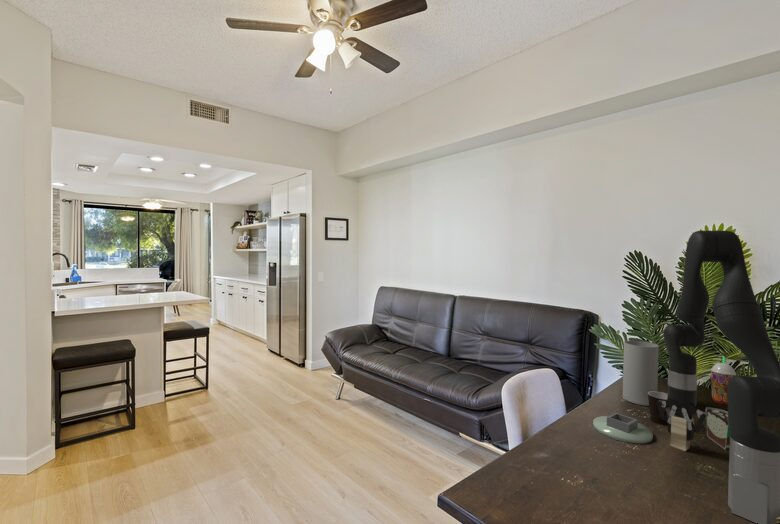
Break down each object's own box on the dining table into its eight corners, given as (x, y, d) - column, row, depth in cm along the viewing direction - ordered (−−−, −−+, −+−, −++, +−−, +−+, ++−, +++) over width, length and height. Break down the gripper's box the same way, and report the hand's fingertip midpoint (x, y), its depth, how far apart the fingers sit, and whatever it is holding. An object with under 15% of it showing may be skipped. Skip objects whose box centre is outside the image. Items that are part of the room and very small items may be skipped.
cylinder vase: (627, 404, 158) (629, 345, 158) (618, 394, 170) (620, 339, 170) (661, 408, 155) (663, 348, 154) (650, 397, 166) (652, 341, 166)
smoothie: (705, 400, 164) (707, 355, 164) (715, 397, 167) (717, 353, 167) (729, 407, 156) (730, 360, 156) (739, 404, 160) (740, 358, 160)
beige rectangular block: (685, 451, 120) (686, 420, 119) (670, 446, 123) (671, 415, 123) (689, 447, 122) (690, 417, 122) (675, 442, 125) (675, 413, 125)
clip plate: (639, 448, 121) (639, 435, 121) (583, 427, 135) (583, 415, 135) (661, 434, 131) (661, 421, 131) (607, 416, 146) (607, 404, 146)
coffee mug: (648, 423, 140) (649, 396, 140) (645, 414, 147) (646, 389, 147) (687, 430, 134) (688, 403, 134) (682, 421, 142) (682, 395, 142)
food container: (751, 454, 118) (752, 423, 118) (728, 452, 120) (729, 421, 119) (724, 436, 130) (725, 408, 130) (704, 434, 132) (705, 406, 132)
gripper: (652, 381, 126) (650, 431, 126) (705, 394, 114) (704, 450, 114) (661, 377, 130) (659, 426, 130) (713, 389, 118) (711, 443, 119)
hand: (680, 437), depth 122 cm, fingers closed on beige rectangular block, 4 cm apart
